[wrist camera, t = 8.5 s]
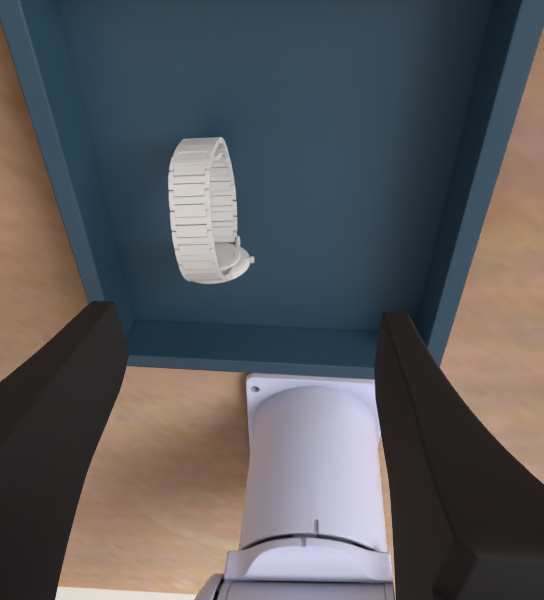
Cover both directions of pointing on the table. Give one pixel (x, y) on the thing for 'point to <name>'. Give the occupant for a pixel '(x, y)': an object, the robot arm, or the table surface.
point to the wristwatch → (205, 212)
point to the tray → (277, 162)
